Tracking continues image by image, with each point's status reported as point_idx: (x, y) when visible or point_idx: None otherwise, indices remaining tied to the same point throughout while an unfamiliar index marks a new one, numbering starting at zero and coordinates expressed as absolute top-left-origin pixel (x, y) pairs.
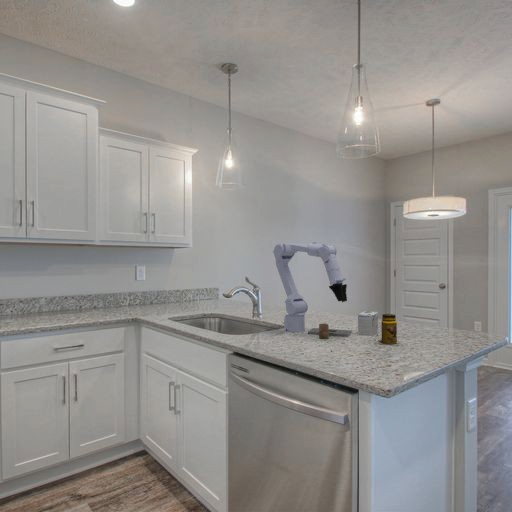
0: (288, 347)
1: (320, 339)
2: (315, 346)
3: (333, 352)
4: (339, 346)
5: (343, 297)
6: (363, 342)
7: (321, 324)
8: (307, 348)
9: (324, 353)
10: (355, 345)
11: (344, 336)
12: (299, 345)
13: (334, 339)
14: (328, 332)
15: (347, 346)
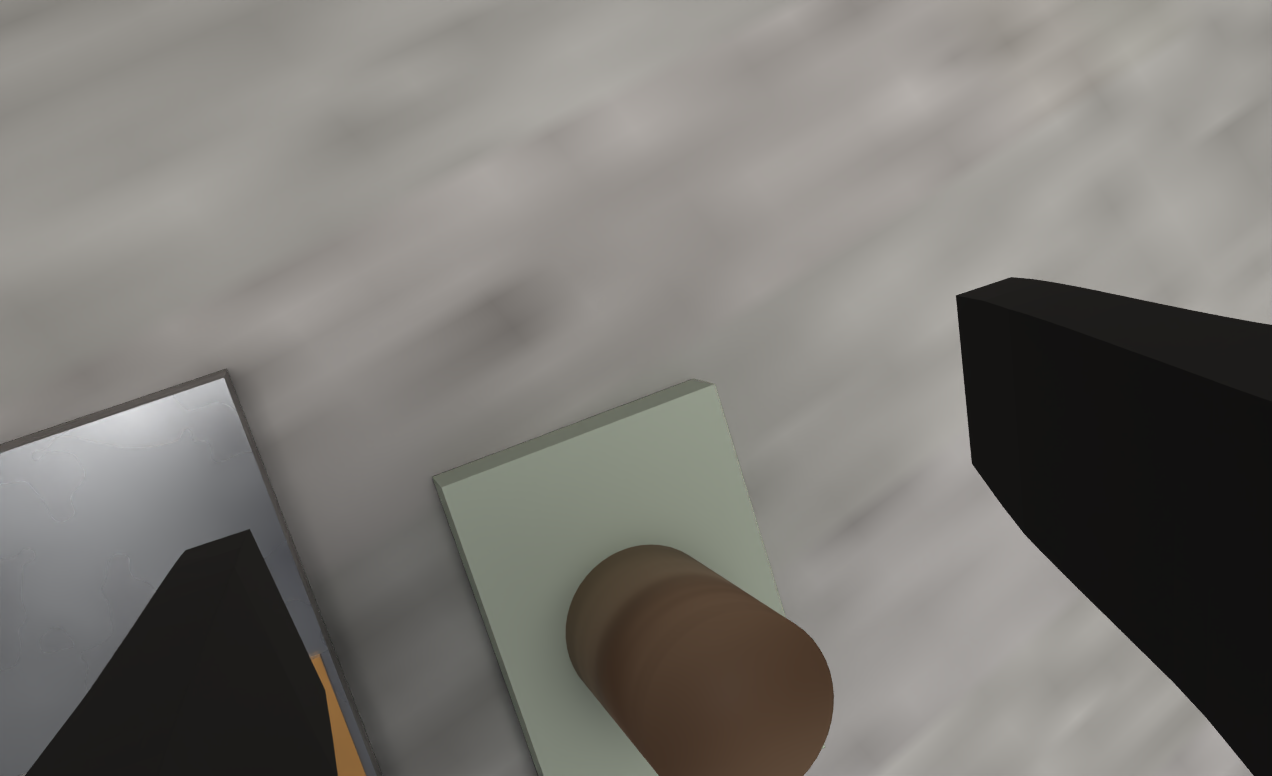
0: (1178, 742)
1: None
2: (943, 520)
3: (1078, 137)
4: (738, 248)
5: (279, 735)
6: (192, 54)
7: (777, 737)
8: None
9: (1177, 204)
10: (517, 72)
11: (251, 440)
12: (1019, 720)
13: (602, 442)
14: (649, 580)
15: (663, 147)
